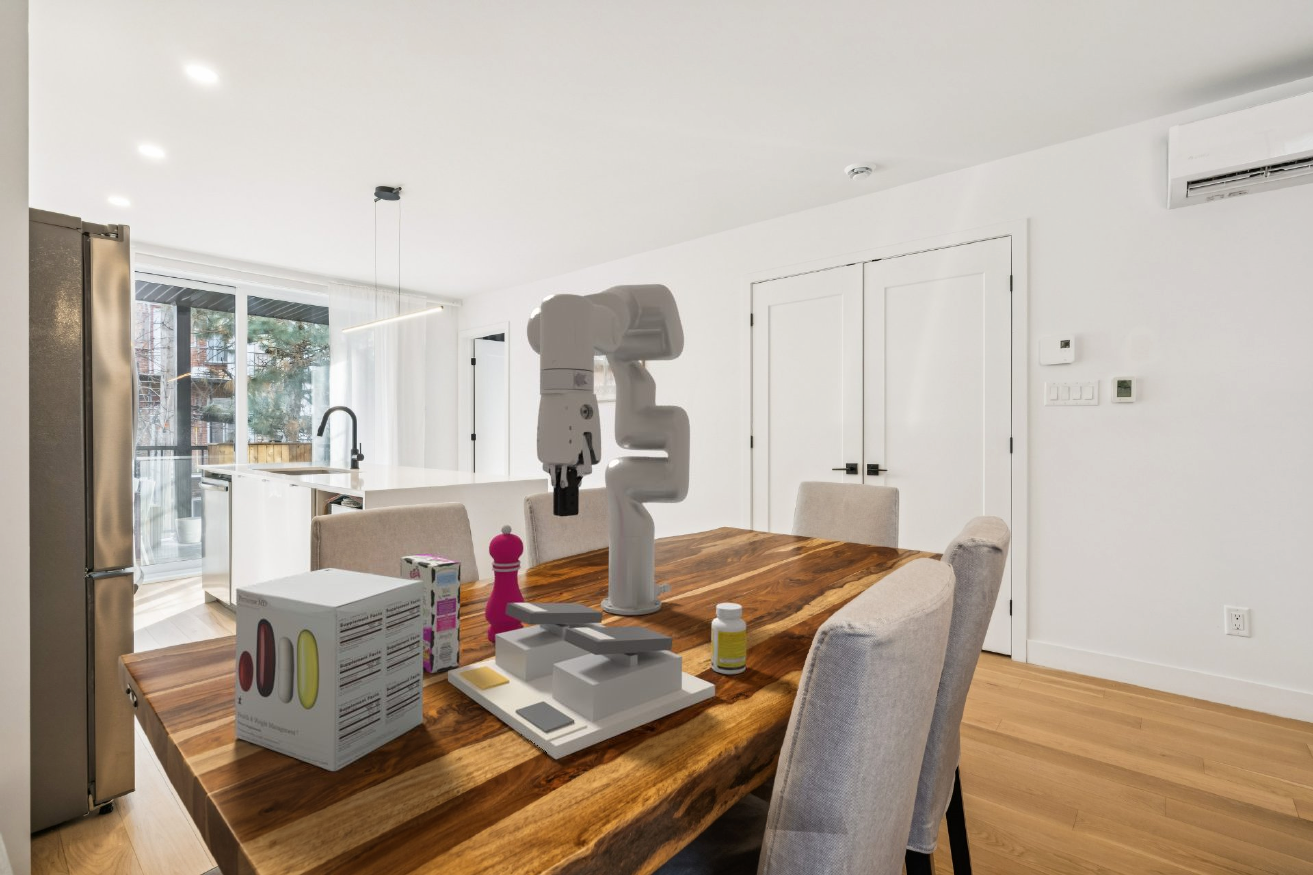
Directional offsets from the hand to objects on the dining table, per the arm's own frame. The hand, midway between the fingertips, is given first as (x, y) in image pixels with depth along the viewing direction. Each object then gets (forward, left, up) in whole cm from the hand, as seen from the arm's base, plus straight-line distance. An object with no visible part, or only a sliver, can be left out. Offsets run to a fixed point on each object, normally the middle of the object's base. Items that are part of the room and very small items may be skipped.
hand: (565, 514), depth 88 cm
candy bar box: (+10, -24, -25) cm, 36 cm away
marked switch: (-3, -8, -17) cm, 19 cm away
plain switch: (-3, +8, -17) cm, 19 cm away
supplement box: (+28, -9, -25) cm, 39 cm away
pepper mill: (-5, -27, -25) cm, 37 cm away
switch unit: (-2, 0, -25) cm, 25 cm away
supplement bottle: (-24, +9, -25) cm, 36 cm away
